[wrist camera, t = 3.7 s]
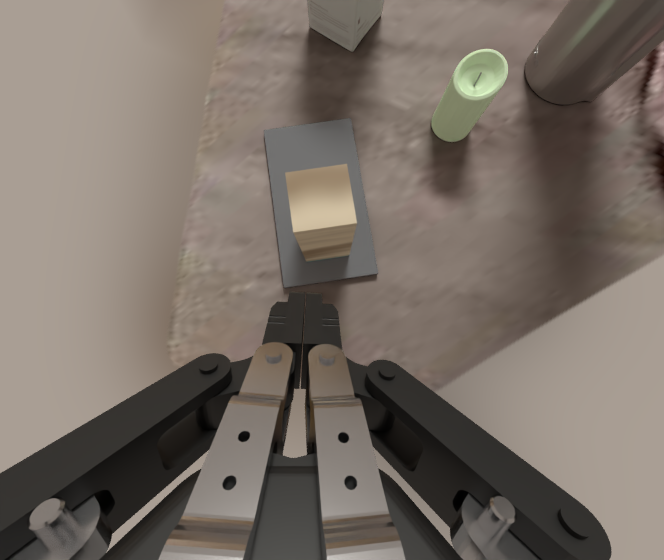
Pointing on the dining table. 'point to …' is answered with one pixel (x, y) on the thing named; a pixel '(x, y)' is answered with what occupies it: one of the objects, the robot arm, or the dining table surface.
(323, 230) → the block
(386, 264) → the dining table surface
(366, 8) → the supplement box
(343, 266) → the mat
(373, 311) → the dining table surface
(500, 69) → the candle
